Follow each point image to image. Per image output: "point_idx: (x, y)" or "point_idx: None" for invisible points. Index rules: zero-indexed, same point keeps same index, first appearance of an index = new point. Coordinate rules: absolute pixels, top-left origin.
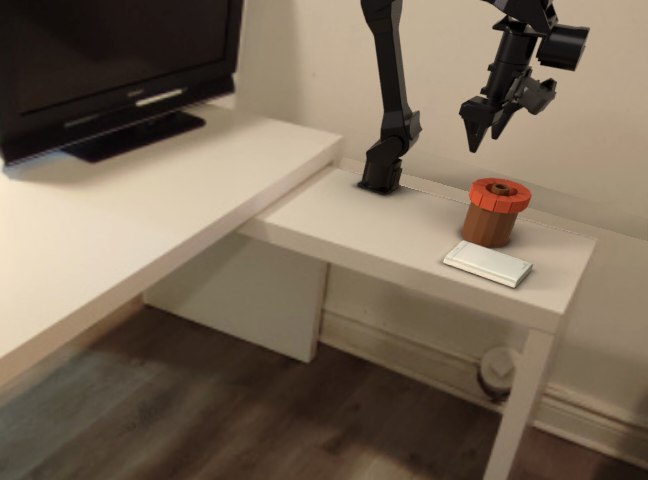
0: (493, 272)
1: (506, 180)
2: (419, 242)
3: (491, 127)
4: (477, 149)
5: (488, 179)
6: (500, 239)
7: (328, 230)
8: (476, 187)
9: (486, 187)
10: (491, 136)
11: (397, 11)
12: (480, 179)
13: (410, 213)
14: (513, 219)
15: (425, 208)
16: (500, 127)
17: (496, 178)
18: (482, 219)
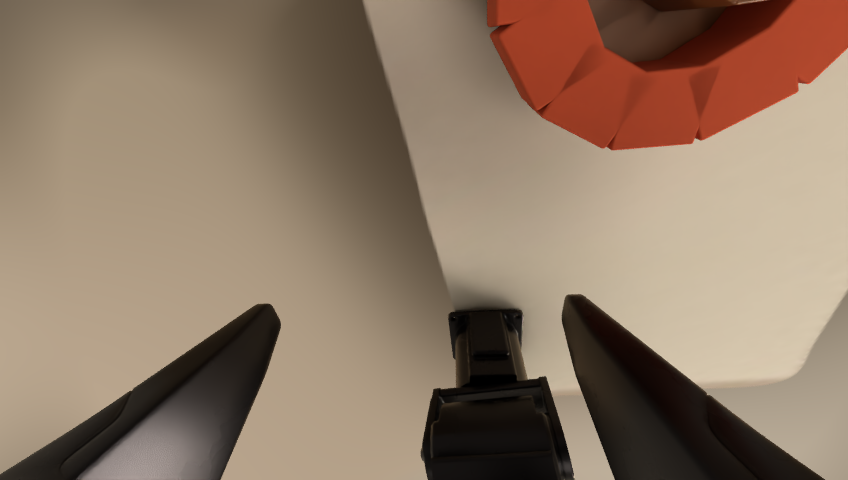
0: None
1: (513, 16)
2: (766, 121)
3: (257, 392)
4: (581, 308)
5: (579, 109)
6: None
7: (790, 298)
8: (762, 91)
9: (656, 67)
10: (277, 335)
11: None
12: (608, 140)
13: (571, 233)
14: None
15: (514, 225)
16: (220, 374)
17: (528, 84)
18: None
